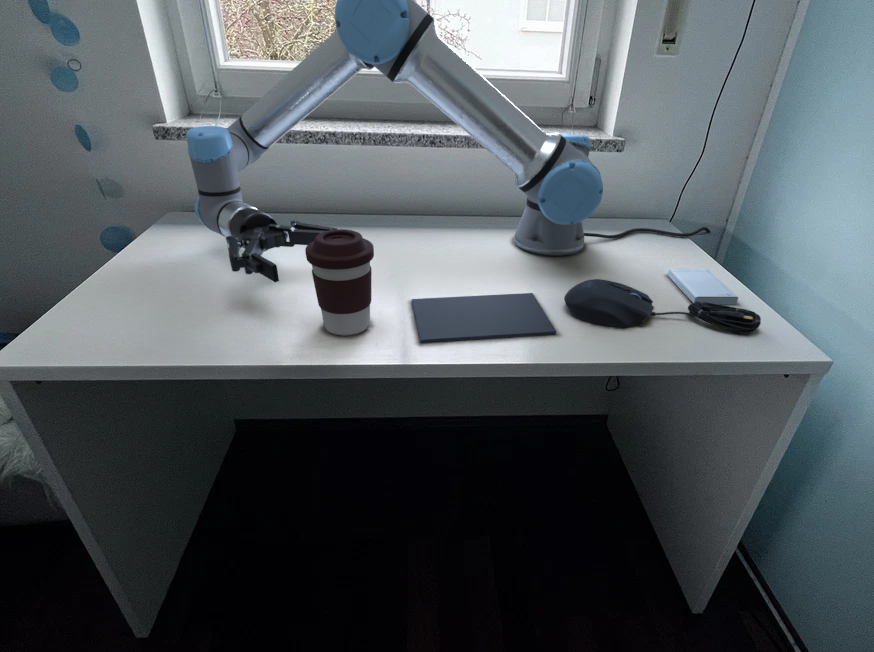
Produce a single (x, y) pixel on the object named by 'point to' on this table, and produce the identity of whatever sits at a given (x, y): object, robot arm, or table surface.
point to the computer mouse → (646, 307)
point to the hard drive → (702, 286)
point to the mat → (480, 317)
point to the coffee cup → (342, 279)
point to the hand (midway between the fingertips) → (313, 262)
